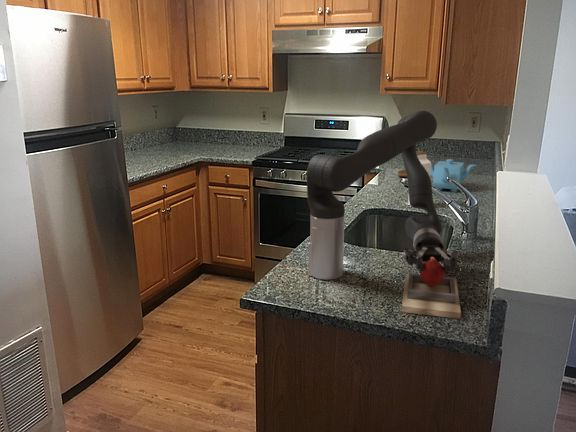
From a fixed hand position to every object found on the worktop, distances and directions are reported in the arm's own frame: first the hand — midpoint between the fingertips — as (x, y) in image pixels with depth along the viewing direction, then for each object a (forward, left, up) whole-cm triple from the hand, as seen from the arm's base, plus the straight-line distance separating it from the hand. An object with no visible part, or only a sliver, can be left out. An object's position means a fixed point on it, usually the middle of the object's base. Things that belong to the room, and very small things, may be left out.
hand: (434, 268), depth 115 cm
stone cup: (-10, +157, -9) cm, 158 cm away
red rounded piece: (0, +3, -6) cm, 7 cm away
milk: (-5, +92, -9) cm, 93 cm away
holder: (0, +2, -9) cm, 9 cm away
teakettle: (+8, +128, -9) cm, 129 cm away
